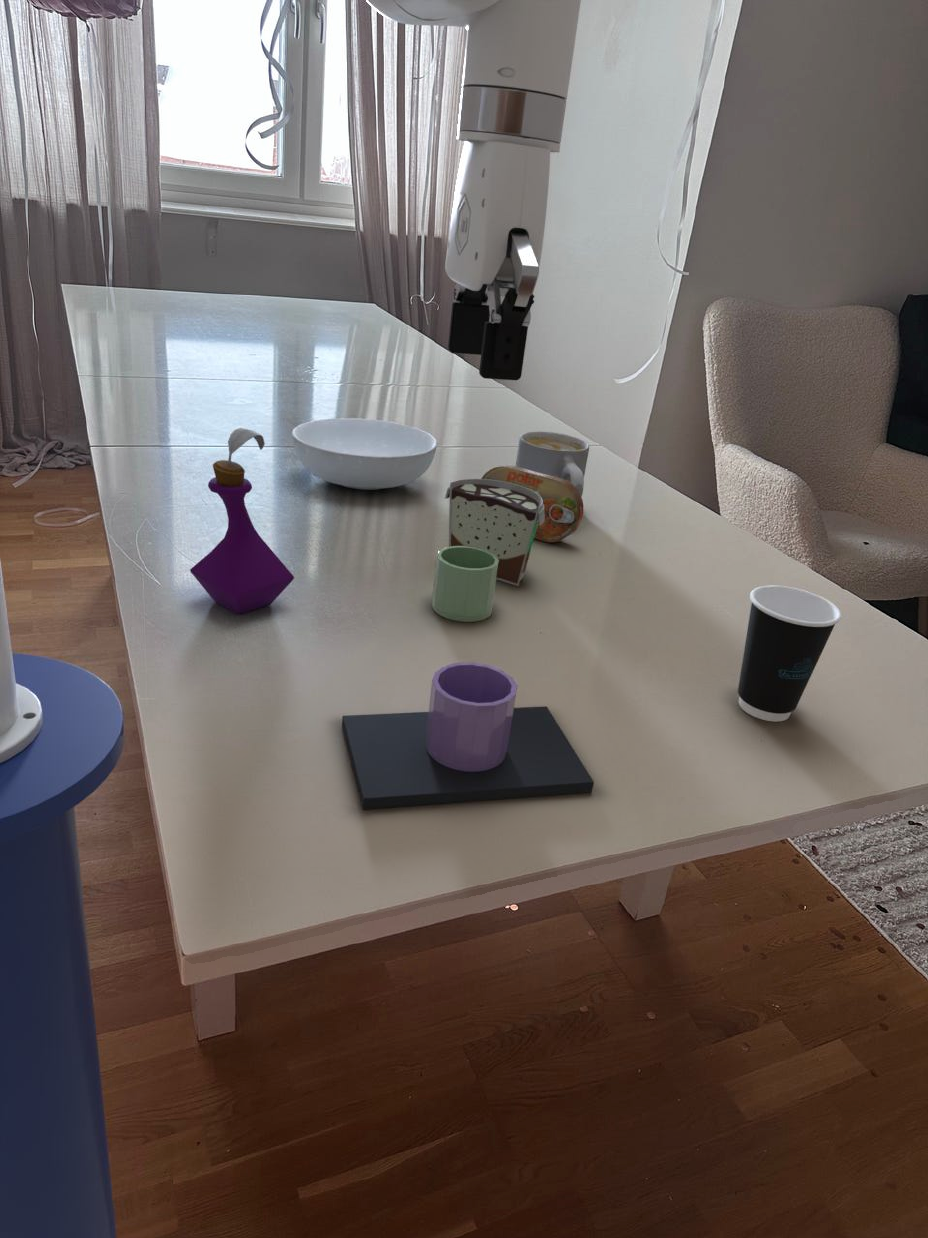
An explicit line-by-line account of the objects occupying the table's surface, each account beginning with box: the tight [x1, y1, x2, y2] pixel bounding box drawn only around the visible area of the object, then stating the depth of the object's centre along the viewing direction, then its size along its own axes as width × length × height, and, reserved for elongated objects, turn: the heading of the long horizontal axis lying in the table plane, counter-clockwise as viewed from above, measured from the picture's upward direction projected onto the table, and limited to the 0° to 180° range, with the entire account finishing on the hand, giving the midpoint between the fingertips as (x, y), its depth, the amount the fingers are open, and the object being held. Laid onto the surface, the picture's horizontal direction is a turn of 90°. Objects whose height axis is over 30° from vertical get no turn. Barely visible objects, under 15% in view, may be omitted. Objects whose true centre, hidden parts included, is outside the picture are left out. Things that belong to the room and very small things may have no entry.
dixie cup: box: [737, 584, 842, 723], centre depth 82 cm, size 8×8×11 cm
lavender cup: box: [426, 661, 518, 772], centre depth 70 cm, size 6×6×6 cm
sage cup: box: [431, 546, 499, 623], centre depth 96 cm, size 6×6×6 cm
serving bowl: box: [291, 417, 438, 491], centre depth 131 cm, size 21×21×7 cm
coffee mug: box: [515, 430, 590, 498], centre depth 127 cm, size 13×10×10 cm
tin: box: [480, 465, 584, 543], centre depth 119 cm, size 15×3×8 cm, turn 58°
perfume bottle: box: [189, 427, 295, 615], centre depth 88 cm, size 8×8×18 cm
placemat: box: [341, 705, 595, 810], centre depth 72 cm, size 18×11×1 cm, turn 105°
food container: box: [444, 478, 545, 587], centre depth 106 cm, size 12×6×10 cm, turn 62°
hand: (482, 364), depth 72 cm, fingers open, 9 cm apart
